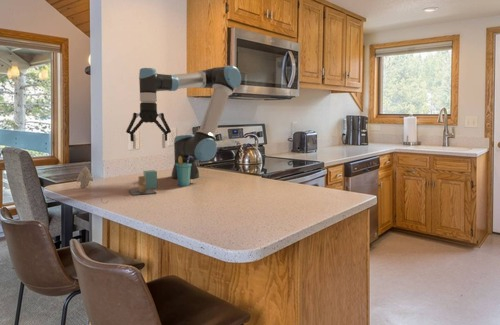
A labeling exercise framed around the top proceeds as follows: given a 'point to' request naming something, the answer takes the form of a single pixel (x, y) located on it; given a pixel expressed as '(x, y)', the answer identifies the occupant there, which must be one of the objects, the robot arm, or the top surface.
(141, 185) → the tan and gray stand
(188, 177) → the cup
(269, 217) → the top surface
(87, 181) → the arrowhead
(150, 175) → the teal rectangular block
